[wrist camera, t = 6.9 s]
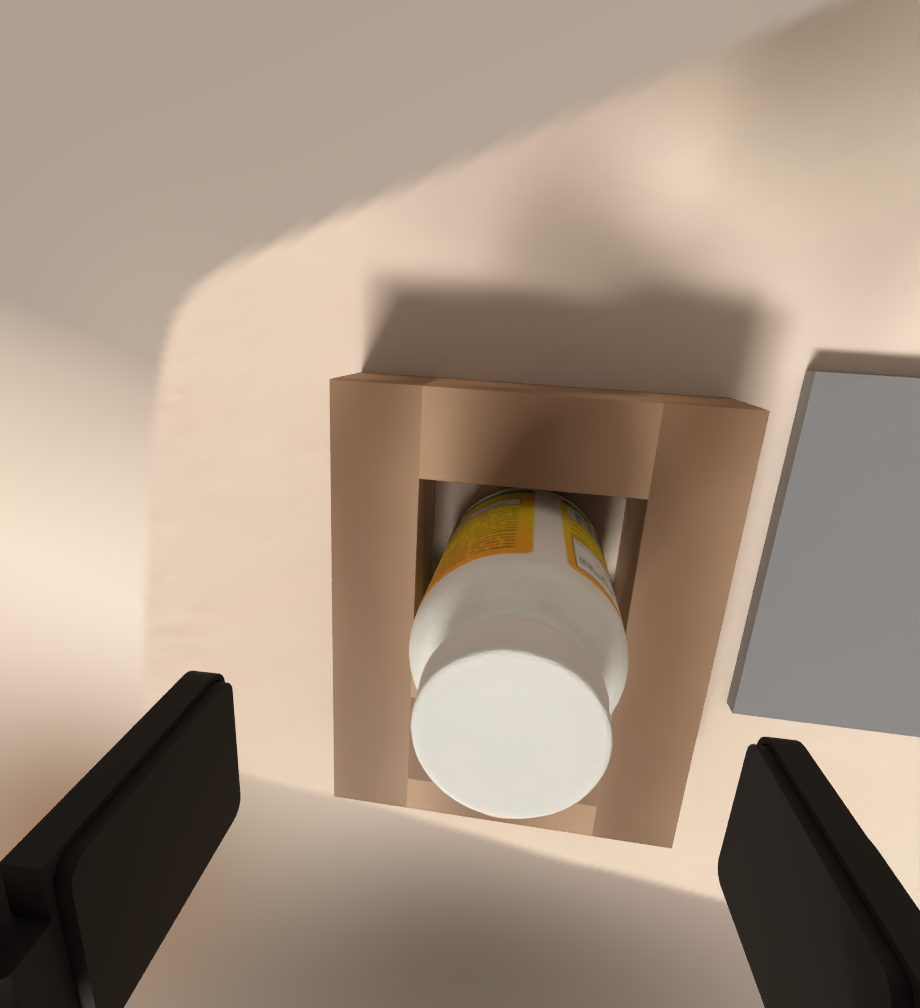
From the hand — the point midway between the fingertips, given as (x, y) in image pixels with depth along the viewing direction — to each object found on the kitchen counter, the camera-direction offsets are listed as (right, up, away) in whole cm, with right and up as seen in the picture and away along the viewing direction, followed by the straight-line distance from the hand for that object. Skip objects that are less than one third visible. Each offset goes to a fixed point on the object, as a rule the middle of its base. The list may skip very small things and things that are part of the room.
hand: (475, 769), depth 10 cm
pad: (+16, +3, +8) cm, 18 cm away
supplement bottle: (+2, +3, +10) cm, 11 cm away
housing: (+2, +2, +10) cm, 11 cm away
